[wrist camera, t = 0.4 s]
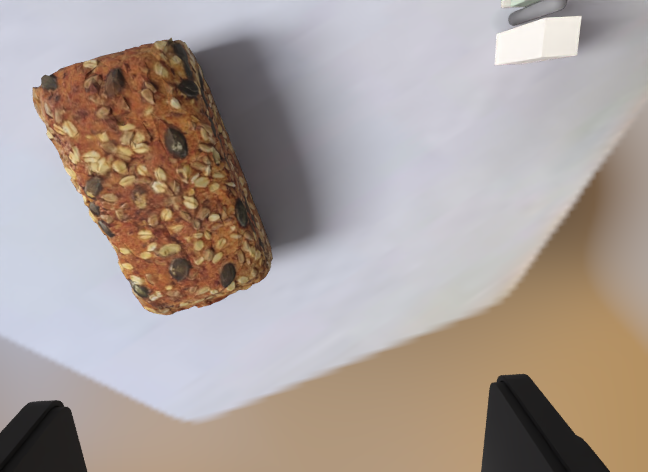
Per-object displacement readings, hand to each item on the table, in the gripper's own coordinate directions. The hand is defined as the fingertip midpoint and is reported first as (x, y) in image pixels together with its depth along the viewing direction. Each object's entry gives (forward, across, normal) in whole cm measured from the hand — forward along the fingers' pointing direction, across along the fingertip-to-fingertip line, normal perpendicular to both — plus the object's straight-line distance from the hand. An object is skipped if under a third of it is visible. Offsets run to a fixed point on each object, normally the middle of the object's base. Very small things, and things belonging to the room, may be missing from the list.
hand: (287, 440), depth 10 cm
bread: (+31, +10, -1) cm, 32 cm away
